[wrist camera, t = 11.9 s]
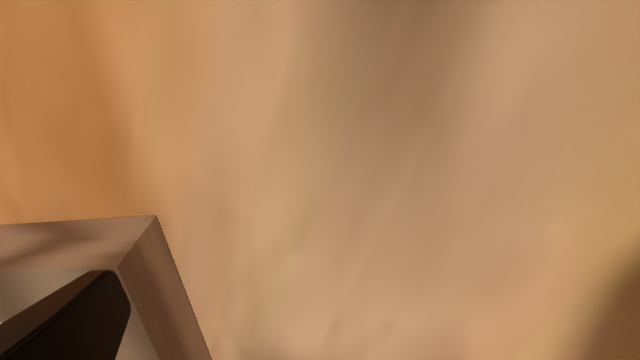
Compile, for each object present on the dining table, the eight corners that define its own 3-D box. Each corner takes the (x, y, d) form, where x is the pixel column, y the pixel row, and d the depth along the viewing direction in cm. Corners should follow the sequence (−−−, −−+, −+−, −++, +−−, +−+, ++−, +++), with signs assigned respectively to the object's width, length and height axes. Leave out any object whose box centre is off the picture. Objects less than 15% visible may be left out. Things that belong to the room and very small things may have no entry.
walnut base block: (156, 215, 25) (117, 267, 22) (218, 376, 31) (194, 437, 27) (-41, 227, 27) (-104, 275, 24) (50, 374, 33) (10, 429, 30)
